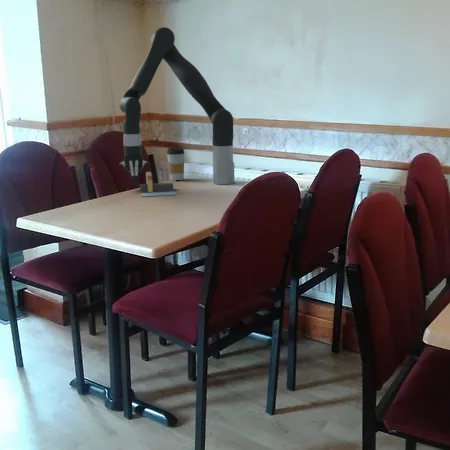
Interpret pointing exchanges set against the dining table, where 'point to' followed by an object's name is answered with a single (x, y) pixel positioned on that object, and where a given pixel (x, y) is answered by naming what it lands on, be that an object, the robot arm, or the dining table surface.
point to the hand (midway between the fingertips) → (135, 183)
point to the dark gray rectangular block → (157, 187)
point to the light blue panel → (157, 194)
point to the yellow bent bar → (149, 181)
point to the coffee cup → (176, 163)
